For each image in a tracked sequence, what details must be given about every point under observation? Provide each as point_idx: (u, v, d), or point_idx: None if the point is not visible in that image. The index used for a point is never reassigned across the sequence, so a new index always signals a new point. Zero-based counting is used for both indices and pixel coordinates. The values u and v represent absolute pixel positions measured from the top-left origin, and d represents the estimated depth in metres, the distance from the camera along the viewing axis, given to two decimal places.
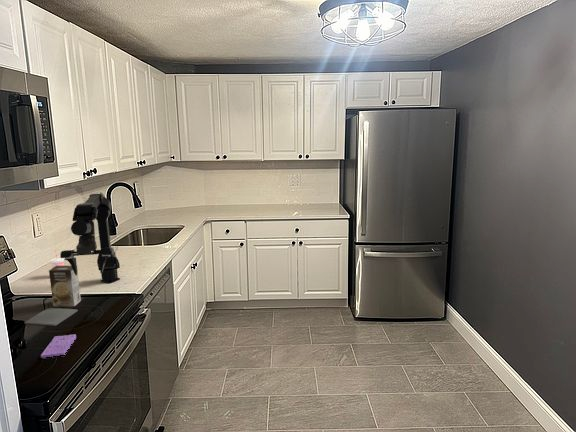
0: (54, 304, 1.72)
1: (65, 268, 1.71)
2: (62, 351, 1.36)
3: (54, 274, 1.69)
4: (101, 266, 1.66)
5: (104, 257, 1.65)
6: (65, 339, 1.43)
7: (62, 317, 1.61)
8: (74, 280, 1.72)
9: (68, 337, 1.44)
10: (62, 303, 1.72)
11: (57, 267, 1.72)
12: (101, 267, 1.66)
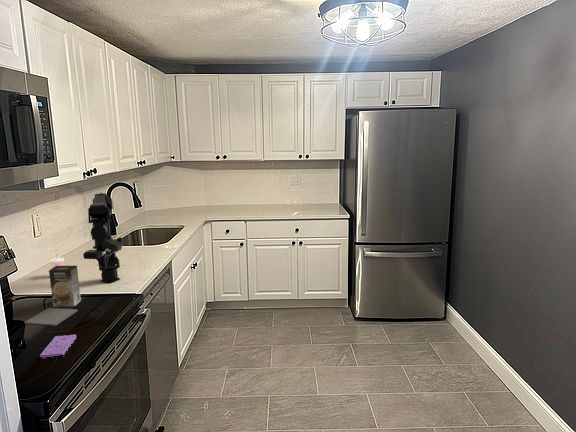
0: (54, 304, 1.72)
1: (65, 268, 1.71)
2: (61, 351, 1.35)
3: (54, 274, 1.69)
4: (107, 262, 1.79)
5: (111, 253, 1.80)
6: (65, 339, 1.43)
7: (62, 317, 1.61)
8: (74, 280, 1.72)
9: (68, 337, 1.44)
10: (62, 303, 1.72)
11: (57, 267, 1.72)
12: (107, 262, 1.79)
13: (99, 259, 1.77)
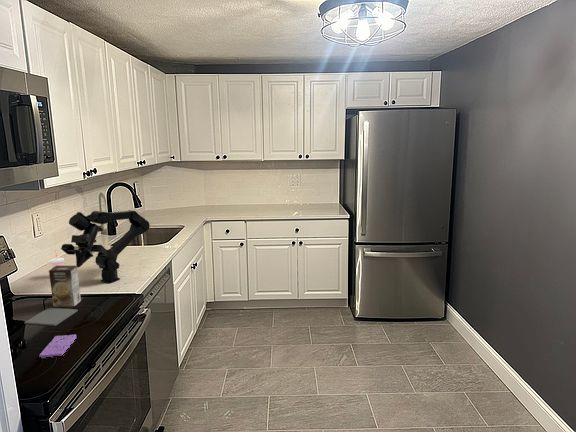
0: (54, 304, 1.72)
1: (65, 268, 1.71)
2: (60, 351, 1.35)
3: (54, 274, 1.69)
4: (80, 260, 1.81)
5: (84, 251, 1.82)
6: (65, 339, 1.43)
7: (62, 317, 1.61)
8: (74, 280, 1.72)
9: (68, 337, 1.44)
10: (62, 303, 1.72)
11: (57, 267, 1.72)
12: (79, 261, 1.81)
13: None
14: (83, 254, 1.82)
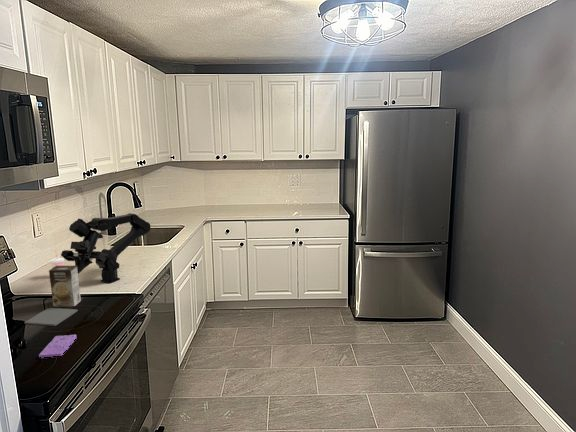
0: (54, 304, 1.72)
1: (65, 268, 1.71)
2: (60, 351, 1.35)
3: (54, 274, 1.69)
4: (78, 266, 1.81)
5: (83, 257, 1.82)
6: (65, 339, 1.43)
7: (62, 317, 1.61)
8: (74, 280, 1.72)
9: (68, 337, 1.44)
10: (62, 303, 1.72)
11: (57, 267, 1.72)
12: (78, 267, 1.81)
13: None
14: (82, 261, 1.82)
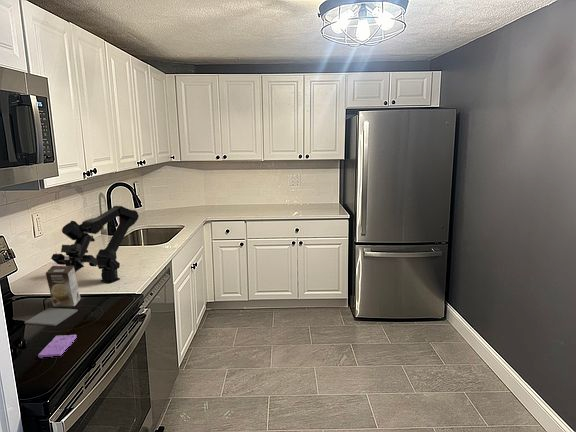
0: (54, 304, 1.72)
1: (62, 270, 1.68)
2: (59, 352, 1.35)
3: (51, 276, 1.67)
4: None
5: (74, 261, 1.76)
6: (65, 339, 1.43)
7: (62, 317, 1.61)
8: (72, 281, 1.71)
9: (68, 337, 1.44)
10: (61, 303, 1.72)
11: (54, 268, 1.70)
12: None
13: None
14: (73, 264, 1.76)
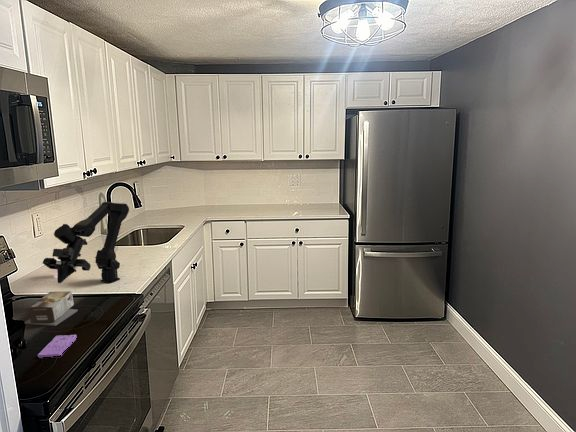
0: None
1: (46, 318, 1.56)
2: (58, 352, 1.35)
3: None
4: (61, 275, 1.71)
5: (66, 266, 1.71)
6: (65, 339, 1.43)
7: (62, 317, 1.61)
8: (60, 310, 1.61)
9: (68, 337, 1.44)
10: None
11: (34, 314, 1.56)
12: (61, 276, 1.70)
13: None
14: (65, 269, 1.71)
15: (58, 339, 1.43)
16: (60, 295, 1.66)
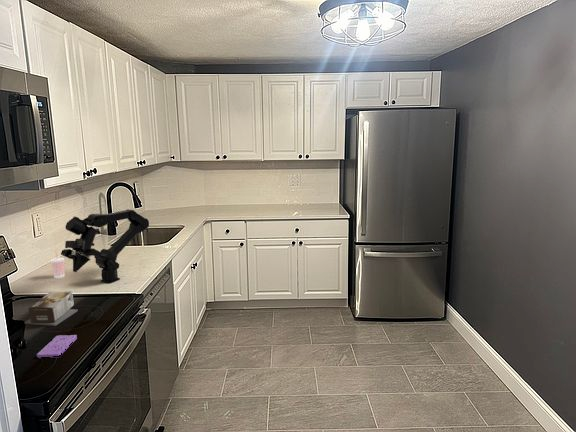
0: None
1: (46, 318, 1.56)
2: (57, 352, 1.35)
3: None
4: (76, 265, 1.82)
5: (78, 256, 1.81)
6: (65, 339, 1.43)
7: (62, 317, 1.61)
8: (60, 310, 1.62)
9: (68, 337, 1.44)
10: None
11: (34, 314, 1.56)
12: (75, 266, 1.82)
13: None
14: (78, 259, 1.82)
15: (58, 339, 1.43)
16: (60, 295, 1.66)
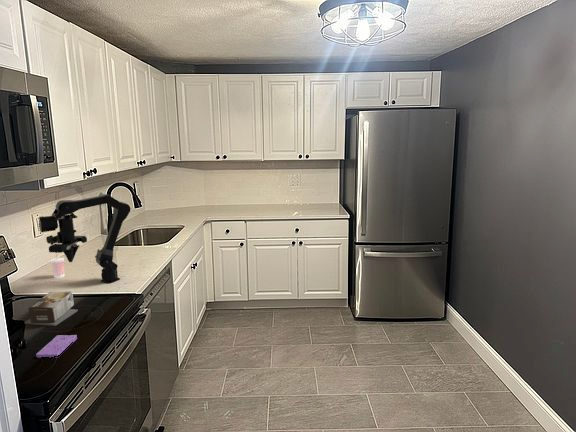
0: None
1: (46, 318, 1.56)
2: (56, 352, 1.35)
3: None
4: None
5: None
6: (65, 339, 1.43)
7: (62, 317, 1.61)
8: (60, 310, 1.62)
9: (68, 337, 1.44)
10: None
11: (34, 314, 1.56)
12: None
13: None
14: None
15: (58, 339, 1.43)
16: (60, 295, 1.66)
